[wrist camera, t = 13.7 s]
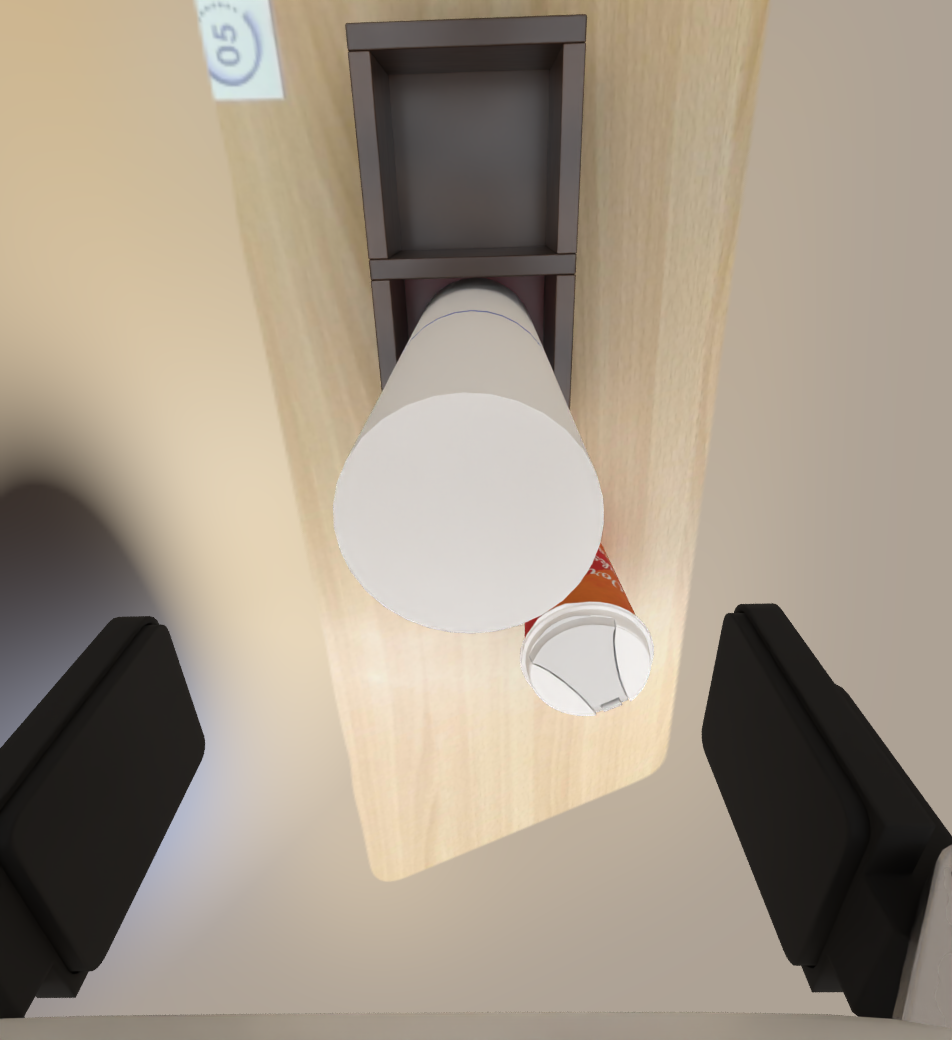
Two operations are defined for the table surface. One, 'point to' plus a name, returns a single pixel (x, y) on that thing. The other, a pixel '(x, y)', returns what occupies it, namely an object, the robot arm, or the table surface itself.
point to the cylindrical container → (470, 474)
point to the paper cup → (588, 647)
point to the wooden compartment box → (470, 166)
